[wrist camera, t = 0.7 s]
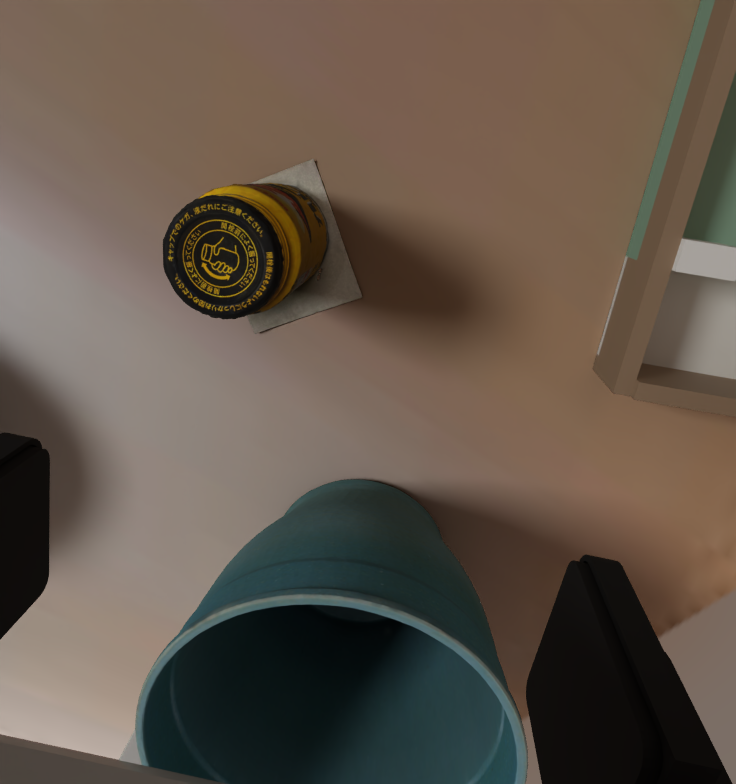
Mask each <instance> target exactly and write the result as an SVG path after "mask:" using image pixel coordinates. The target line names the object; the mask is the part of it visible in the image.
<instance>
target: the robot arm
mask: <svg viewBox="0 0 736 784" xmlns="http://www.w3.org/2000/svg"><path fill="white" fill-rule="evenodd" d="M49 483H50V458H49V453H48V451H47V450H46V449H42V445H41V443H40V441H38V440H37V439H34V438H29V437H24V436H20V435H15V434H10V433H1V434H0V639H1V638H2V637H3V636H4V635H5V634H6V633H7V632H8V630H9V629H10V628H11V627H12V626H13V625H14V624H15V623H16V622H17V621H18V619H19V618H20V617H21V616H22V615H23V614H24V613H25V612H26V611H27V610H28V608H29V607H30V606H31V605H32V604H33V603H34V602H35V601H36V600H37V599H38V597H39V596H40V595H41V594H42V592H43V591H44V589H45V587H46V584H47V581H48V577H49ZM526 700H527V706H528V711H529V716H530V722H531V727H532V732H533V737H534V743H535V748H536V754H537V759H538V764H539V770H540V775H541V780H542V784H732V782H731V780H730V778H729V776H728V774H727V772H726V770H725V768H724V766H723V764H722V762H721V760H720V758H719V756H718V754H717V752H716V750H715V748H714V746H713V744H712V742H711V740H710V738H709V736H708V734H707V732H706V730H705V728H704V726H703V724H702V722H701V720H700V718H699V716H698V714H697V712H696V710H695V708H694V706H693V704H692V702H691V700H690V698H689V696H688V694H687V692H686V690H685V688H684V686H683V684H682V682H681V680H680V678H679V676H678V674H677V672H676V670H675V668H674V666H673V664H672V662H671V660H670V658H669V657H668V655H667V654H666V652H664V650H663V648H662V646H661V644H660V642H659V640H658V638H657V636H656V634H655V632H654V630H653V628H652V626H651V624H650V622H649V620H648V618H647V616H646V614H645V612H644V610H643V608H642V606H641V604H640V602H639V599H638V597H637V595H636V593H635V591H634V589H633V587H632V585H631V583H630V581H629V579H628V577H627V575H626V573H625V571H624V569H623V567H622V565H621V564H620V563H619V562H618V561H614V560H609V559H605V558H600V557H595V556H590V555H584V556H583V557H582V558H581V559H580V561H579V562H578V561H574V560H573V561H571V562H570V563H569V565H568V567H567V570H566V573H565V575H564V578H563V581H562V584H561V587H560V589H559V592H558V595H557V598H556V601H555V603H554V606H553V609H552V612H551V615H550V617H549V620H548V623H547V626H546V629H545V632H544V634H543V637H542V640H541V643H540V646H539V648H538V651H537V654H536V657H535V660H534V662H533V665H532V668H531V671H530V674H529V677H528V680H527V686H526ZM0 784H225V783H221V782H216V781H212V780H207V779H203V778H198V777H194V776H189V775H185V774H180V773H175V772H171V771H166V770H162V769H157V768H153V767H148V766H144V765H139V764H135V763H130V762H125V761H121V760H116V759H112V758H107V757H103V756H98V755H94V754H89V753H84V752H80V751H75V750H71V749H66V748H61V747H57V746H52V745H47V744H43V743H38V742H33V741H29V740H24V739H19V738H15V737H10V736H5V735H1V734H0Z"/></svg>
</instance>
